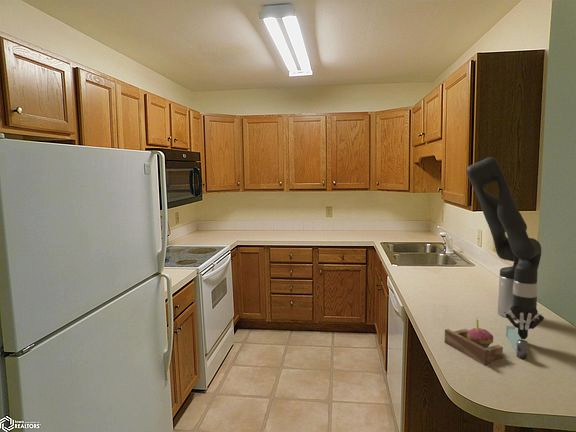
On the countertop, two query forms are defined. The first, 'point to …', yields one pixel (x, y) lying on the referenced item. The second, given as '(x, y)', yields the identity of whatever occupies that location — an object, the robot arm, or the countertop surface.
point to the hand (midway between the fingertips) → (522, 338)
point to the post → (522, 349)
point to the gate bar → (512, 336)
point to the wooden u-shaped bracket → (472, 347)
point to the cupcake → (480, 336)
